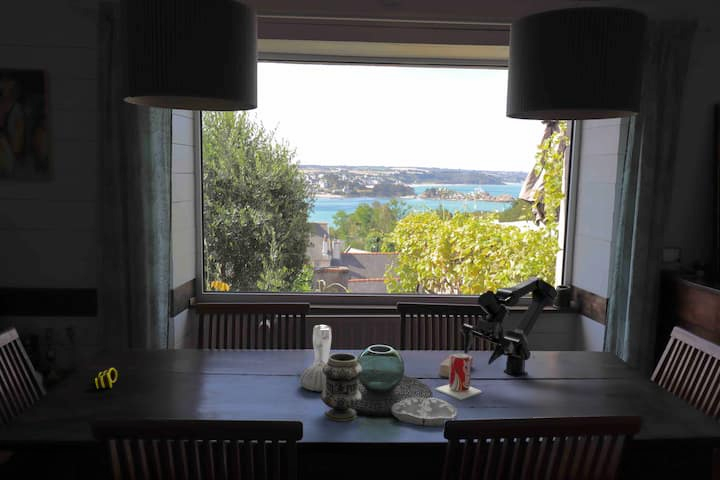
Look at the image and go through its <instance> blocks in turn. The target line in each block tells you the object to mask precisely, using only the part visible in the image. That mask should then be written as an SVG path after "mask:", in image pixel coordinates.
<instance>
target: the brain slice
mask: <svg viewBox="0 0 720 480" xmlns="http://www.w3.org/2000/svg"><path fill="white" fill-rule="evenodd" d="M391 413H392V415H393V416H394V418H396V419H398V420H399V421H401V422H403V423H404V422H405V423H409V424H413V425H417V426H418V425H419V426H425V427H426V426H427V427H435V426H437V427H442V426H445V425H444V421H445V420H452V419H454V420H456V417H457V416H458V415H457V414H458V408H457V407H455V406H453V405H452V404H450V403H449V402H447V401H445V400H443V399H440V398H436V397H427V398H425V397H423V396H412V397H406V398H403V399H402V400H399V401H397V402H395V403H393V404H392V405H391Z"/></svg>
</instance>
